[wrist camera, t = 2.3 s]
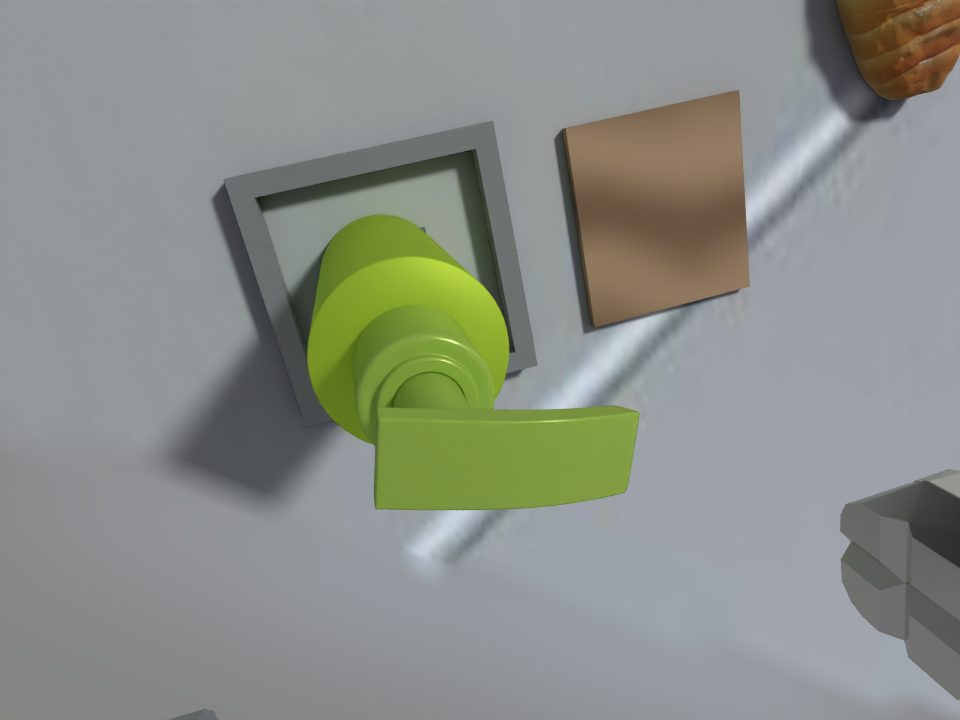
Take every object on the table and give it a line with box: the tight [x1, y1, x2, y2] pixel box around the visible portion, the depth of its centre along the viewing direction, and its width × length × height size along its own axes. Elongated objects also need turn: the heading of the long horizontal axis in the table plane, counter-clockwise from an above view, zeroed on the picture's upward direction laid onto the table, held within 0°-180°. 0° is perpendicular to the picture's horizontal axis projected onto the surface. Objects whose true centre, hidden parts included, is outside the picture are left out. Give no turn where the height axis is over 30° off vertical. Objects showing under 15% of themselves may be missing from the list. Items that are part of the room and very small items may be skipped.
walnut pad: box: [562, 90, 750, 328], centre depth 32 cm, size 10×9×1 cm
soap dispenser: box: [307, 215, 639, 510], centre depth 21 cm, size 6×7×20 cm
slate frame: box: [224, 121, 537, 428], centre depth 30 cm, size 12×12×1 cm
